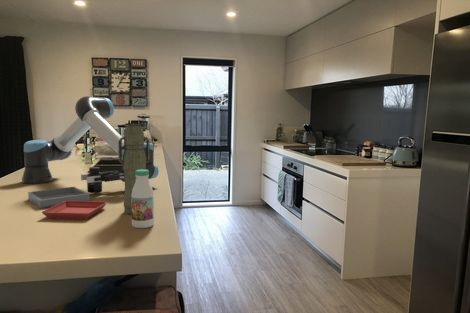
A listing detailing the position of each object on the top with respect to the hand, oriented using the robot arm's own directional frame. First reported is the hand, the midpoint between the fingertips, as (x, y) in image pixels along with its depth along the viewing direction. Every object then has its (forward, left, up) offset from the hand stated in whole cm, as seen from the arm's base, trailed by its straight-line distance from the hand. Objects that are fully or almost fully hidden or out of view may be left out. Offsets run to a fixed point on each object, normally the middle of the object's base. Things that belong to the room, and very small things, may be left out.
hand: (84, 178), depth 168 cm
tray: (+2, -12, -8) cm, 15 cm away
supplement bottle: (0, +5, -7) cm, 9 cm away
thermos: (+40, +6, -9) cm, 41 cm away
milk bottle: (+58, 0, -9) cm, 59 cm away
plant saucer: (+28, -13, -9) cm, 32 cm away
